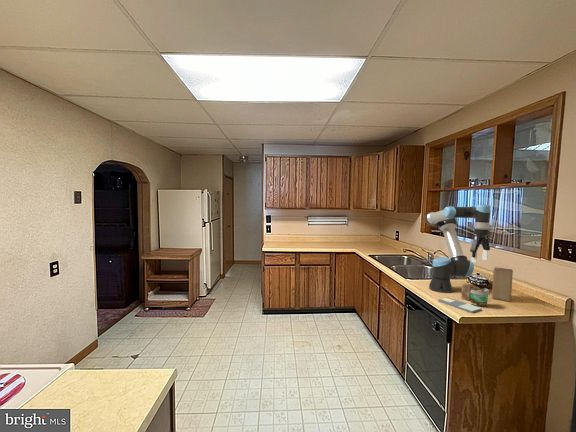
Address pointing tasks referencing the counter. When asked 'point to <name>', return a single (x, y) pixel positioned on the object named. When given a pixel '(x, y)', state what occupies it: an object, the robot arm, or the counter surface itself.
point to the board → (460, 305)
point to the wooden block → (502, 284)
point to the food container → (479, 297)
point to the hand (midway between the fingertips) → (479, 261)
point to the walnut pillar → (466, 291)
